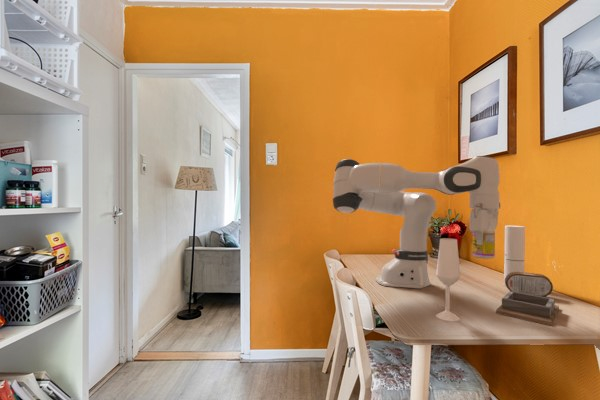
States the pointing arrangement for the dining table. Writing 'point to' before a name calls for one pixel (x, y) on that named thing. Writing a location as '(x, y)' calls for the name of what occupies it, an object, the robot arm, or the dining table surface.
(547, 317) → the holder
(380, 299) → the dining table surface
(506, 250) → the cylindrical container
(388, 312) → the dining table surface
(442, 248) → the champagne flute
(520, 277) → the tin
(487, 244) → the supplement bottle
